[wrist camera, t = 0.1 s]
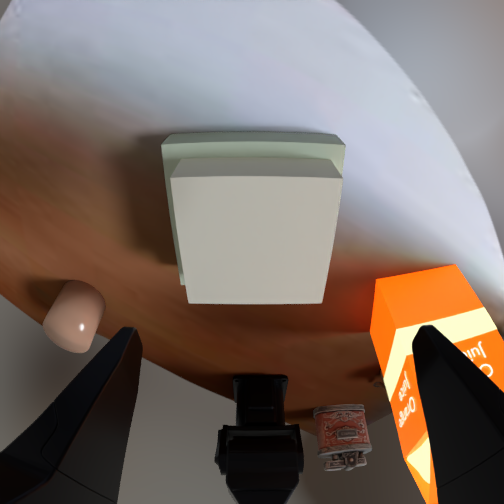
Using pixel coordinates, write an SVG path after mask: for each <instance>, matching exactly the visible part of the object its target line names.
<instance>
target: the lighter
mask: <svg viewBox="0 0 504 504" xmlns="http://www.w3.org/2000/svg"><path fill="white" fill-rule="evenodd" d="M364 412H365V410H364V406H363V405H354V404H349V405H331V406H323V407H318V408H316V409H314V410H313V416H314V418H315V422H316V431H317V440H318V448H319V451H318V457H319V458H332V460H333V461H328V462H325V463H324V470H326V471H333V470H340V469H342V468H344V469H345V470H346V471H348V470H351V469H353V468H354V467H358V466H363V465H366V458H365V456H364V454H365V453H367V452H370V451H371V450H372V446H371V444H370V442H369V436H368V431H367V426H366V421H365V416H364ZM357 455H358V459H357ZM338 457H339V459H340V460H339V461H338Z"/></svg>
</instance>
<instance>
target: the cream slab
mask: <svg viewBox="0 0 504 504" xmlns="http://www.w3.org/2000/svg"><path fill="white" fill-rule="evenodd" d="M170 180H171V189H172V197H173V205H174V213H175V220H176V227H177V234H178V241H179V248H180V255H181V261H182V267H183V274H184V280H185V286H186V291H187V297H188V303H197V304H314V303H322V300H323V295H324V290H325V285H326V280H327V275H328V270H329V264H330V259H331V253H332V248H333V242H334V236H335V230H336V224H337V218H338V212H339V205H340V198H341V191H342V184H343V177H342V176H341V174H340V173H339V171H338V170H337V168H336V167H335V165H334V164H333V162H332V161H331V160H328V159H308V158H273V157H221V158H187V159H181V160H180V162H179V163H178V165H177V167H176V169H175V170H174V172H173V174H172V176H171V177H170Z"/></svg>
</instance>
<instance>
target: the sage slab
mask: <svg viewBox="0 0 504 504" xmlns="http://www.w3.org/2000/svg"><path fill="white" fill-rule="evenodd" d="M345 146H346V145H345V144H344V143H343V142H342V141H341V140H340V138H339V137H338V136H337V135H332V134H316V133H296V132H203V133H182V134H170V135H169V136H168V137H167V139H166V140H165V141H164V142H163V143H162V144H161V148H162V157H163V166H164V174H165V183H166V190H167V198H168V205H169V213H170V220H171V226H172V233H173V239H174V246H175V252H176V258H177V264H178V270H179V275H180V281H181V285H185V280H184V274H183V267H182V261H181V255H180V248H179V241H178V234H177V227H176V220H175V213H174V205H173V197H172V189H171V180H170V177H171V176H172V174H173V172H174V170H175V169H176V167H177V165H178V163H179V162H180V160H181V159H187V158H221V157H273V158H308V159H328V160H331V161H332V162H333V164H334V165H335V167H336V168H337V170H338V171H339V173H340V174H341V176H342V171H343V163H344V155H345Z"/></svg>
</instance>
